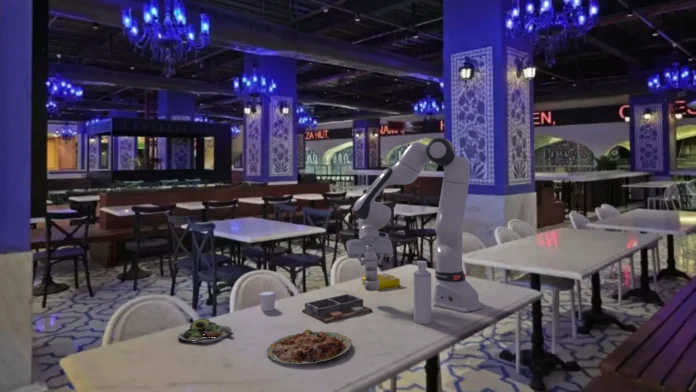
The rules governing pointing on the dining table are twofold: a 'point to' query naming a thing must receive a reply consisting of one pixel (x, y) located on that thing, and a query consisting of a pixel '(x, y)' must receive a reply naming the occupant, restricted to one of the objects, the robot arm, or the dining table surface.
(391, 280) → the element tile
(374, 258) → the plastic bottle
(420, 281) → the white bottle
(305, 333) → the rice dish
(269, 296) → the white cup
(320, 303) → the socket board
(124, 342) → the dining table surface
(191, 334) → the salad plate
